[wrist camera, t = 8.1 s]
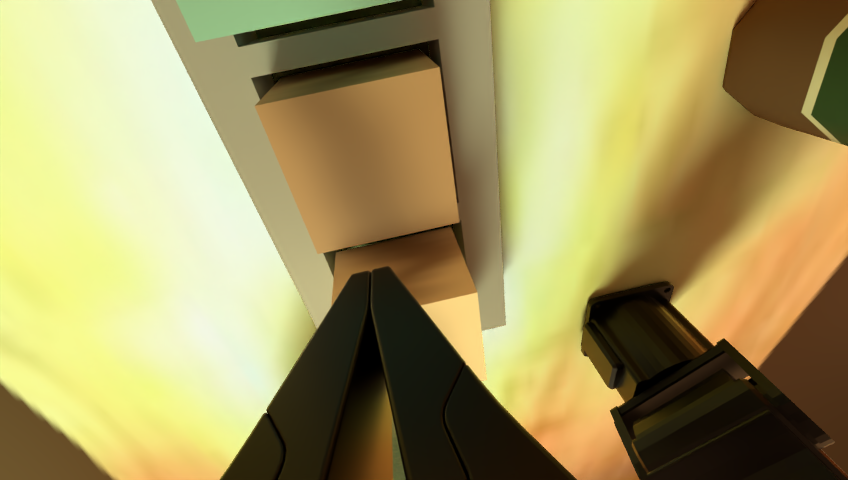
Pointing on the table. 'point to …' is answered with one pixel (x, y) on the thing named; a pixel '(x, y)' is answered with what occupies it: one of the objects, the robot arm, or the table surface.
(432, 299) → the light brown block
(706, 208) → the table surface
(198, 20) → the green block
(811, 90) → the beer bottle
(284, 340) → the table surface
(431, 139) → the tan block
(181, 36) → the grey rectangular tray
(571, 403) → the table surface
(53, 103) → the table surface
